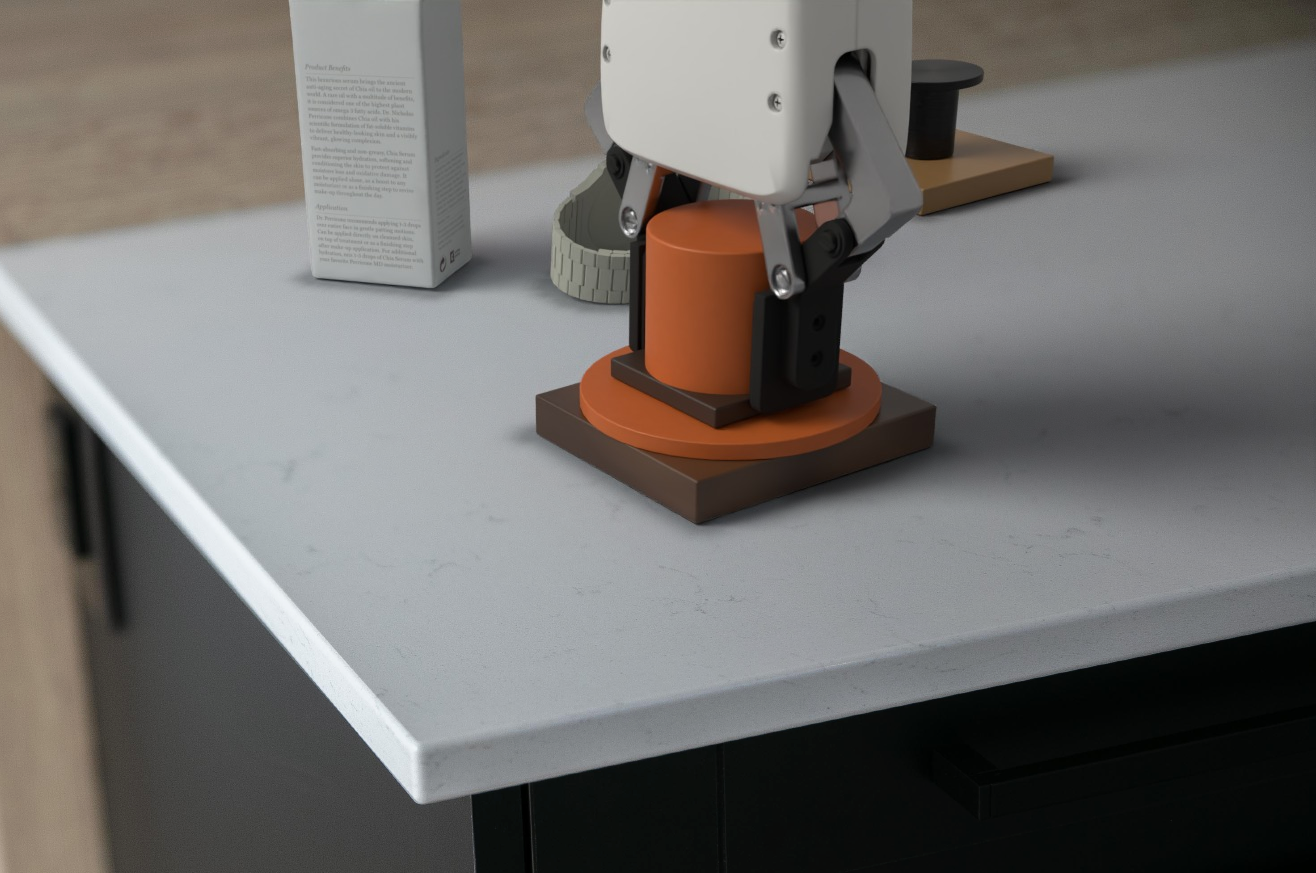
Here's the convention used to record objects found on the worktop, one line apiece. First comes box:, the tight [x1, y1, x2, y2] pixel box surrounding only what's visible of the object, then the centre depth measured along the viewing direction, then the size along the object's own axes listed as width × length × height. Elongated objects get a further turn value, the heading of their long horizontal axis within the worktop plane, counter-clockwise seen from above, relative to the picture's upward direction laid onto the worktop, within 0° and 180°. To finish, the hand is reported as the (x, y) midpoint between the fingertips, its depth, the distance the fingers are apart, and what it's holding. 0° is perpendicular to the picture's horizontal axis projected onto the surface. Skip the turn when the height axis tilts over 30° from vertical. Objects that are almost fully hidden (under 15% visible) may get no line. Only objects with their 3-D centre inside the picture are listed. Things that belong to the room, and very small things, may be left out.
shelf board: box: [535, 381, 938, 524], centre depth 66 cm, size 10×9×2 cm
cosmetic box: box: [288, 0, 473, 289], centre depth 82 cm, size 6×4×12 cm
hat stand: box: [808, 58, 1055, 216], centre depth 90 cm, size 8×8×5 cm
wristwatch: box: [550, 159, 752, 305], centre depth 80 cm, size 9×6×5 cm
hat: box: [580, 199, 882, 460], centre depth 65 cm, size 10×10×6 cm
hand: (729, 368), depth 66 cm, fingers closed on hat, 5 cm apart
